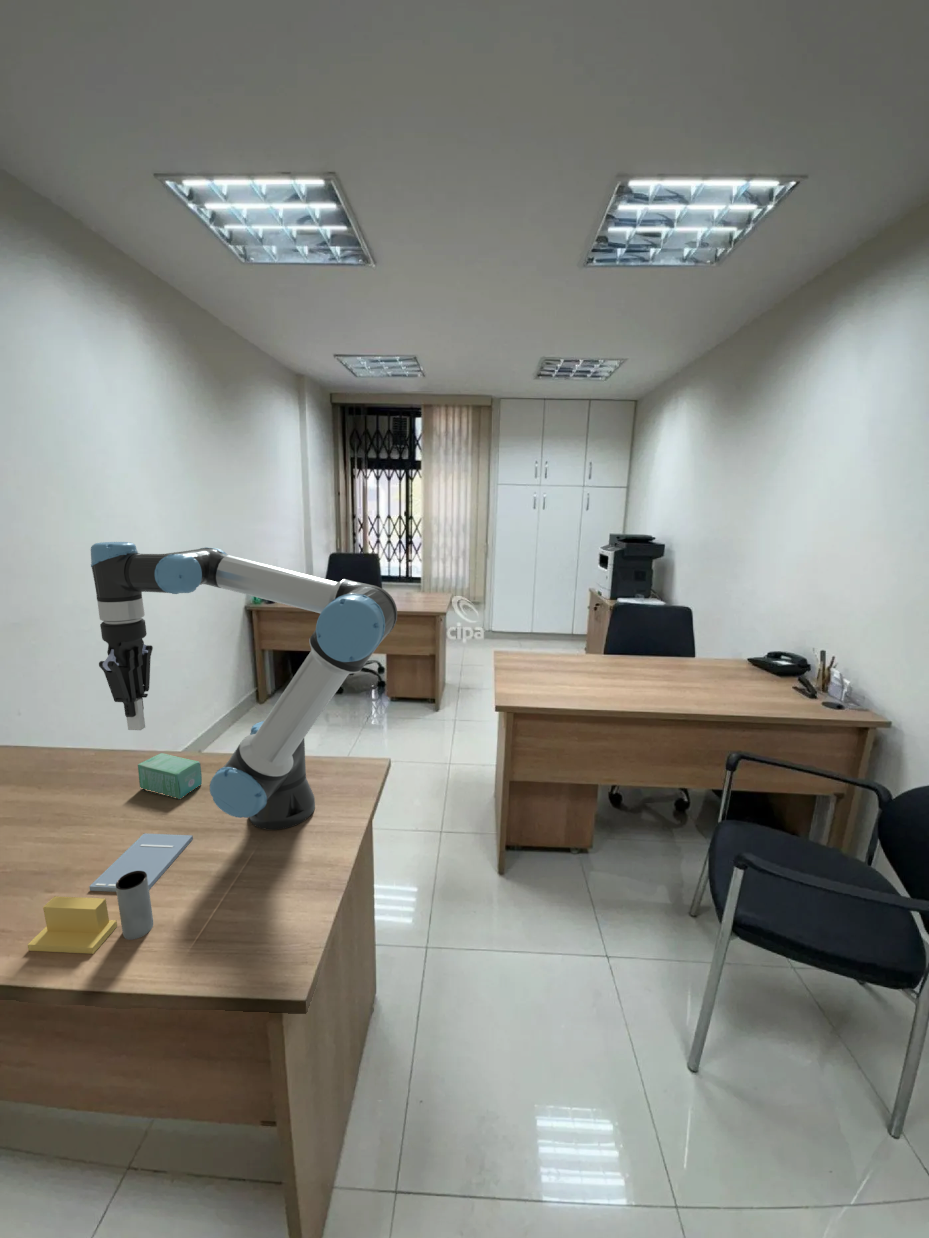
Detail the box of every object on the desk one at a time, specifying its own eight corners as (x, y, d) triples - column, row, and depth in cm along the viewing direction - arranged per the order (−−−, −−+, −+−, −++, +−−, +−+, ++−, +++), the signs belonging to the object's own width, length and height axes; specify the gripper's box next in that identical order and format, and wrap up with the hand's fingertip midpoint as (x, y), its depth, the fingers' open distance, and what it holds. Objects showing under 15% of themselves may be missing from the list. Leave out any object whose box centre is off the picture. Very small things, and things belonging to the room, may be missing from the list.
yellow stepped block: (117, 926, 89) (112, 897, 87) (93, 953, 83) (88, 923, 82) (56, 923, 89) (51, 894, 88) (28, 950, 83) (22, 920, 82)
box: (180, 800, 127) (177, 773, 125) (139, 791, 131) (136, 764, 129) (203, 786, 134) (201, 760, 132) (163, 777, 137) (160, 751, 136)
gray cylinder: (132, 920, 90) (125, 870, 88) (158, 919, 91) (152, 869, 88) (117, 941, 86) (109, 890, 84) (145, 940, 86) (138, 888, 84)
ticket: (193, 840, 112) (192, 834, 112) (146, 894, 96) (145, 888, 96) (144, 838, 112) (143, 832, 112) (90, 891, 97) (89, 885, 96)
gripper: (126, 612, 108) (139, 715, 113) (79, 626, 95) (96, 742, 100) (161, 613, 107) (172, 716, 113) (118, 628, 95) (133, 743, 100)
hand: (136, 728), depth 106 cm, fingers closed
